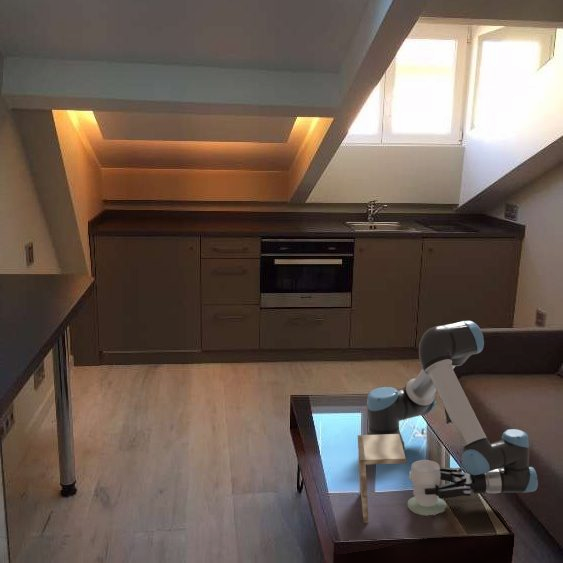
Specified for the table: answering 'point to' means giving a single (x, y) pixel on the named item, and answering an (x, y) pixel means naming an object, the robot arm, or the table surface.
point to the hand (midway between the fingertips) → (411, 482)
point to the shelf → (377, 458)
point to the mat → (426, 510)
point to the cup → (425, 479)
